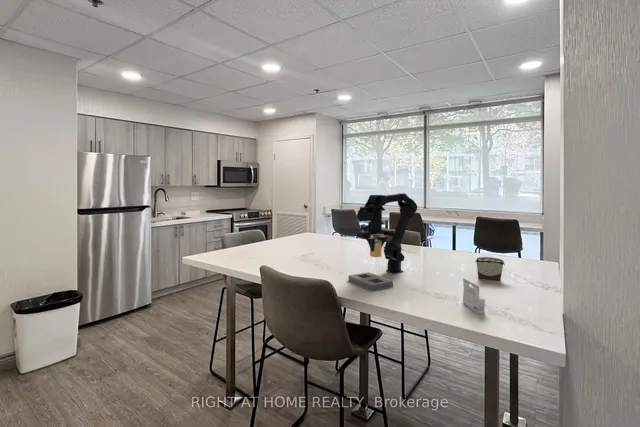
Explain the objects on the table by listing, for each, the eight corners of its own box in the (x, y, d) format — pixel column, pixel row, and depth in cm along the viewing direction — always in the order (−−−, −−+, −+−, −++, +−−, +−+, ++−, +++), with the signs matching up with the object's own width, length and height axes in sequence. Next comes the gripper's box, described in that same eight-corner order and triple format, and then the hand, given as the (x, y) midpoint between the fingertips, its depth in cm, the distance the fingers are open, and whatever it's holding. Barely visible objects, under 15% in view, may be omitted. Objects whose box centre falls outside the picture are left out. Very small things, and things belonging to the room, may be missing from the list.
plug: (376, 255, 167) (376, 239, 166) (381, 256, 164) (381, 240, 163) (370, 255, 165) (370, 240, 165) (374, 257, 162) (375, 241, 161)
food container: (502, 278, 158) (503, 258, 158) (504, 282, 153) (504, 260, 152) (474, 275, 164) (475, 256, 163) (474, 279, 158) (475, 258, 157)
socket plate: (368, 277, 163) (368, 272, 163) (392, 286, 147) (393, 281, 147) (348, 280, 158) (348, 275, 157) (371, 291, 142) (371, 285, 142)
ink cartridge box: (468, 302, 127) (469, 277, 126) (484, 313, 116) (485, 286, 115) (462, 302, 127) (462, 277, 126) (478, 313, 116) (479, 286, 115)
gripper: (381, 217, 174) (380, 246, 176) (351, 219, 166) (351, 250, 167) (394, 219, 164) (394, 250, 166) (363, 221, 156) (363, 254, 157)
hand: (375, 251), depth 164 cm, fingers closed on plug, 4 cm apart
